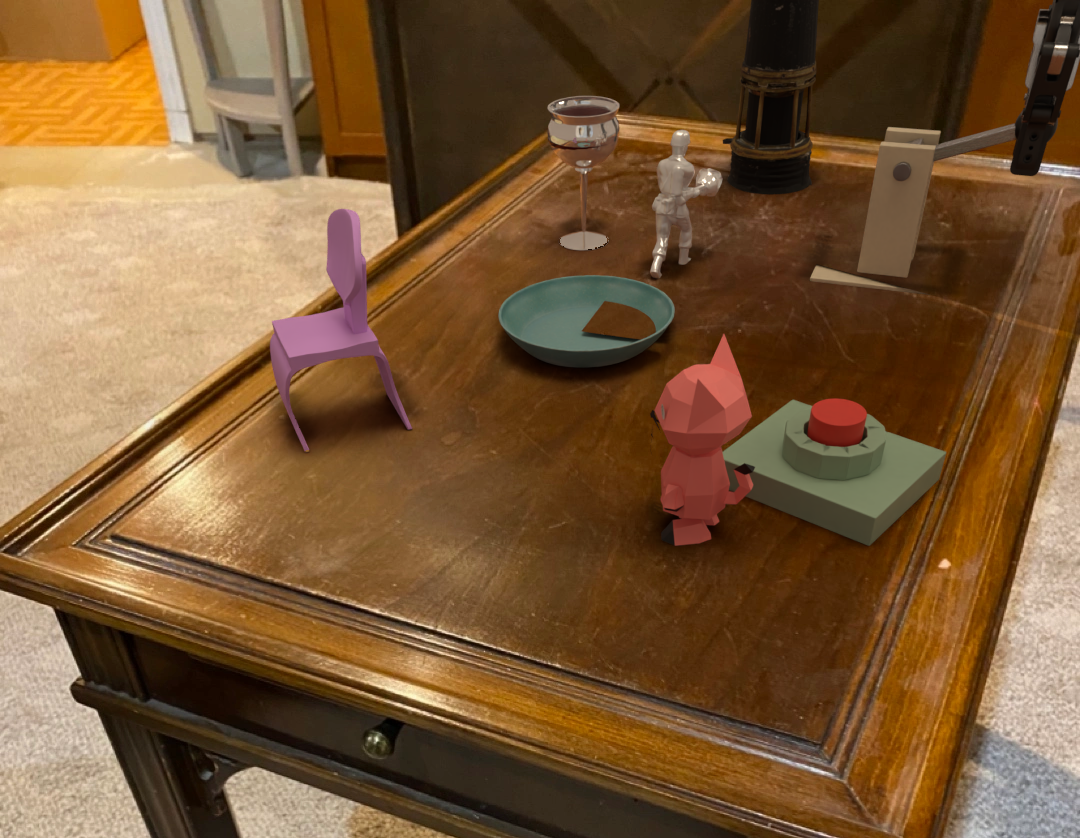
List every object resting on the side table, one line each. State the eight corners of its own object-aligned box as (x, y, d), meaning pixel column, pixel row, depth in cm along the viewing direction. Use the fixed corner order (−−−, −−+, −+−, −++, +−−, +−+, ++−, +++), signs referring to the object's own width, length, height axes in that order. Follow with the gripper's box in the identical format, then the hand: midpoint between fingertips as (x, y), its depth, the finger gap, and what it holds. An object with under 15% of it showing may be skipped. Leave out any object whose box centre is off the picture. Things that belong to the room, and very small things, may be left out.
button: (871, 432, 70) (877, 409, 69) (845, 455, 69) (849, 431, 67) (824, 416, 72) (828, 392, 71) (796, 437, 70) (800, 414, 69)
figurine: (633, 287, 97) (638, 145, 88) (670, 251, 102) (678, 114, 94) (682, 295, 95) (692, 151, 87) (717, 258, 101) (729, 119, 92)
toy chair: (279, 409, 83) (234, 209, 72) (387, 387, 85) (359, 189, 74) (301, 461, 77) (256, 252, 66) (416, 435, 79) (390, 229, 68)
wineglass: (596, 258, 102) (597, 121, 93) (537, 246, 104) (532, 111, 96) (629, 234, 106) (633, 101, 97) (571, 223, 108) (570, 92, 100)
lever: (1059, 135, 86) (1057, 92, 84) (1058, 147, 83) (1056, 104, 82) (894, 178, 92) (888, 139, 90) (889, 191, 90) (883, 151, 88)
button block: (939, 479, 73) (953, 427, 70) (869, 547, 67) (881, 493, 65) (788, 426, 78) (796, 375, 76) (713, 484, 73) (718, 432, 70)
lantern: (714, 178, 116) (742, -176, 95) (793, 170, 117) (838, -182, 96) (740, 207, 110) (776, -166, 89) (823, 198, 111) (878, -173, 90)
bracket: (955, 267, 98) (989, 127, 89) (945, 307, 92) (981, 161, 83) (825, 253, 101) (846, 116, 93) (808, 290, 95) (829, 148, 87)
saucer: (633, 292, 96) (634, 262, 94) (701, 362, 86) (704, 330, 84) (479, 319, 93) (477, 289, 91) (531, 395, 83) (530, 363, 81)
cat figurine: (661, 489, 73) (671, 321, 64) (758, 507, 71) (782, 336, 62) (629, 546, 68) (636, 373, 60) (733, 567, 66) (755, 392, 58)
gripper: (1158, -78, 69) (1071, 200, 81) (1152, -111, 78) (1074, 143, 90) (1037, -81, 71) (969, 191, 83) (1044, -113, 80) (982, 136, 92)
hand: (1024, 165), depth 86 cm, fingers closed on lever, 3 cm apart
